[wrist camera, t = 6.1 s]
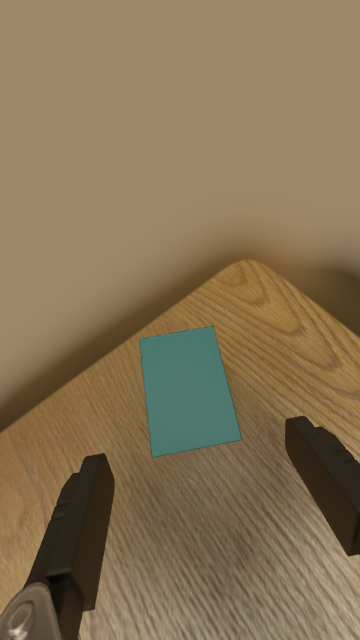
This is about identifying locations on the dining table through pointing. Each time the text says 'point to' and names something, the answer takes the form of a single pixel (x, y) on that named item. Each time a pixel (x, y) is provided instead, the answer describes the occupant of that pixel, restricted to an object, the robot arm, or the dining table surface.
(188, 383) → the plate
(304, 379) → the dining table surface
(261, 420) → the dining table surface
